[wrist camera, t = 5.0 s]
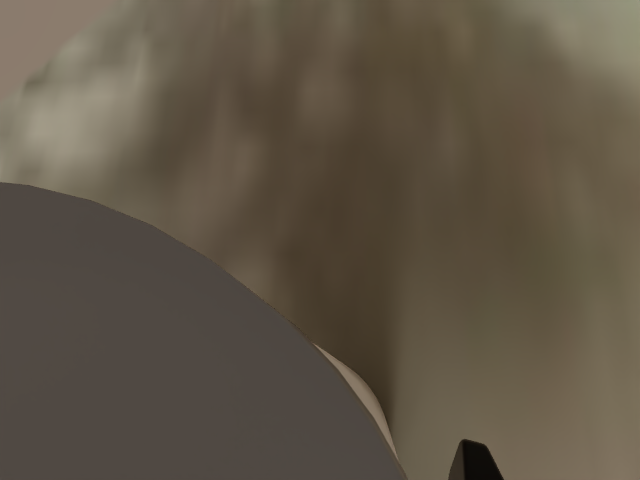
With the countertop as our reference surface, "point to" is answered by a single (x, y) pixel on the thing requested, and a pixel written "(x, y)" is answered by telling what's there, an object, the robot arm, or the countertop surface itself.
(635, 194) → the countertop surface
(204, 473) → the white bottle
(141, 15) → the countertop surface
